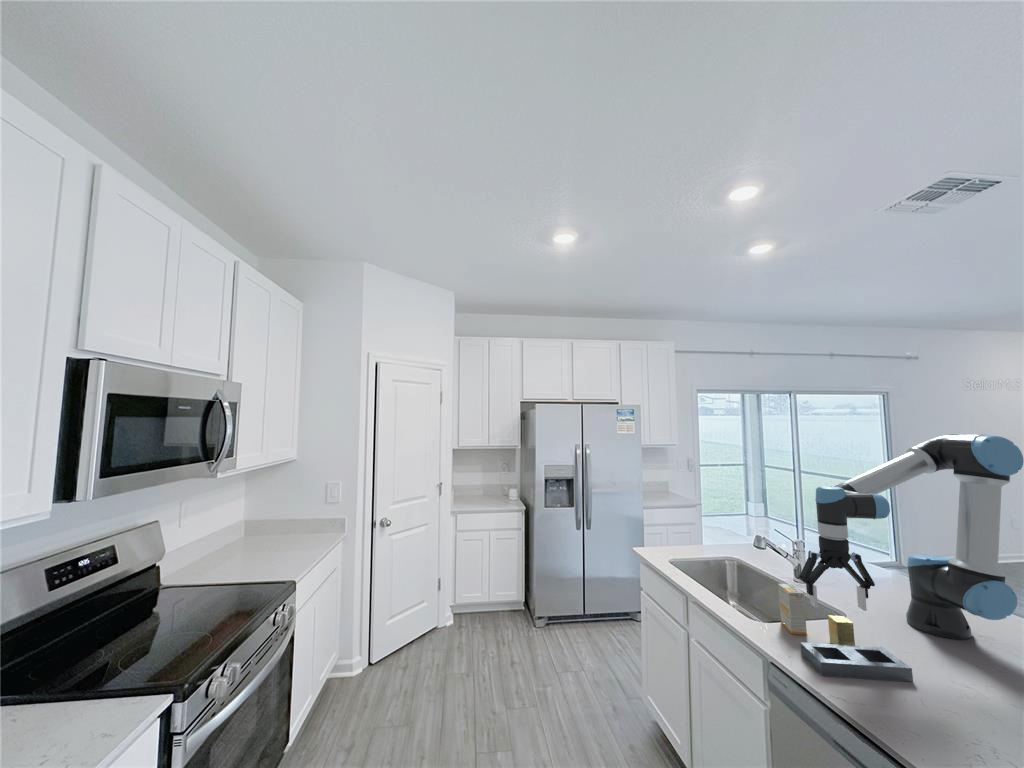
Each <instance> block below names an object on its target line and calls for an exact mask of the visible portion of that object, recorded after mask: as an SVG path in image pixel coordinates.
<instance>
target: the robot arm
mask: <svg viewBox="0 0 1024 768" xmlns="http://www.w3.org/2000/svg"><path fill="white" fill-rule="evenodd" d="M1020 449H1021V448H1019V446H1017V445H1015V443H1014V442H1013V441H1011V440H1010V439H1008V438H1006V437H1003V436H999V435H991V434H956V433H954V434H953V433H951V434H950V433H949V434H943V435H940V436H936V437H933V438H931V439H928V440H926V441H923V442H920V443H918V444H916V445H914V446H912V447H909V448H908V449H907V450H906V452H905V453H904V454H902V455H900V456H898V457H895V458H893V459H891V460H890V461H887V462H884V463H883V464H880V465H878V466H876V467H873V468H872V469H869V470H868V471H866V472H862V473H861V474H859V475H857V476H856V475H855V476H854V477H851V478H850V479H847V480H846V481H844V482H840V483H838V484H837V485H834V486H832V485H821V486H817V488H815V504H816V505H815V506H816V518H817V533H818V535H819V536H818V547H819V550H818V551H819V552H815V551H812V550H809V551H808V556H807V559H806V561H805V563H804V565H803V568H802V569H801V571H800V575H799V576H798V580H800V581H801V582H802V583H804V584H805V586H806V589H805V590H806V594H807V595H809V603H810V605H811V606H813V608H818V607H819V604H818V591H817V590H818V589H817V585H816V584H815V583H816V582H817V580H819V578H820V577H821V576H822V575H823V574H824V572H826V571H827V570H829V569H830V568H831V569H841V570H842V569H844V570H846V572H847V573H848V574H849V575H850V576H851V577H852V578H853V579H854V580H855V582H857V583H858V584H857V585H856V597H857V607H858V608H859V609H860V610H862V611H865V612H866V611H868V610H867V599H869V590H871V587H875V586H876V583H875V581H874V580H873V578H872V577H871V575H870V574H869V572H868V570H867V568H866V567H865V565H864V563H863V562H862V556H861V555H860V554H859V553H856V552H855V551H854V552H852V553H849V552H850V545H849V544H850V543H849V539H848V538H849V530H848V519H867V520H868V519H872V520H877V519H878V520H879V519H881V520H882V519H886V518H887V517H888V516H889V515H890V512H891V506H890V503H889V501H888V499H886V497H885V496H883V495H882V494H881V493H882V492H885V491H887V490H889V489H892V488H894V487H896V486H899V485H901V484H902V483H905V482H907V481H909V480H911V479H914V478H917V477H918V476H921V475H922V474H934V473H936V472H939V471H942V470H943V471H945V470H953V474H952V475H953V477H955V478H956V479H958V480H959V494H958V509H957V512H958V514H957V528H956V531H957V532H956V548H955V550H956V551H955V556H954V558H951V557H948V556H946V557H945V556H939V555H930V554H929V555H928V554H912V555H910V556H908V557H907V565H906V566H907V570H908V572H907V573H908V580H909V587H910V598H911V599H910V602H909V606H908V609H907V612H906V613H905V616H906V622H907V623H908V625H910V626H912V628H915V629H917V630H919V631H922V632H924V633H927V634H931V635H933V636H937V637H942V638H944V639H945V638H947V639H952V640H968V639H971V638H972V637H973V634H972V629H971V626H970V624H969V622H968V620H967V619H966V616H965V614H964V612H963V611H966V612H968V613H969V614H971V615H973V616H978V617H980V618H983V619H986V620H990V621H1000V620H1004V619H1006V618H1007V617H1010V616H1011V615H1013V613H1015V611H1016V609H1017V606H1018V597H1017V596H1018V595H1017V593H1016V592H1014V590H1013V588H1012V587H1011V586H1010V585H1008V584H1007V583H1006V574H1005V573H1004V572H1003V571H1002V570H1001V569H1000V568H999V553H1000V551H999V550H1000V532H1001V531H1000V529H1001V528H1000V526H1001V510H1002V509H1001V508H1002V507H1001V505H1002V488H1003V486H1005V485H1007V484H1009V483H1010V482H1011V476H1013V475H1015V474H1017V473H1019V471H1021V470H1022V469H1023V466H1024V456H1023V453H1022V451H1021V450H1020ZM819 558H820V560H819ZM817 560H819V561H818V562H817ZM850 560H851V561H852V562H853V564H854V566H855V567H856V568H857V570H858V572H859V573H858V572H857V571H856V570H855V569H854V568H853V567H852V565H851V564H850V563H849V561H850ZM816 564H817V565H816ZM860 575H861V576H860Z"/></svg>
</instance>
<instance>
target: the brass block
mask: <svg viewBox="0 0 1024 768" xmlns="http://www.w3.org/2000/svg"><path fill="white" fill-rule="evenodd" d="M827 618H828V619H827V621H828V633H829V642H830V644H836V645H853V646H856V641H855V640H856V638H855V630H854V622H853V621H851V620H850V619H849V618H847V617H845V616H844V615H829V614H828V615H827Z"/></svg>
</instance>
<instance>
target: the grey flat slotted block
mask: <svg viewBox="0 0 1024 768" xmlns="http://www.w3.org/2000/svg"><path fill="white" fill-rule="evenodd" d="M799 645H800V655H801V656H802V658H804V659H805V661H807V662H808V664H810V665H811V667H812V668H813V669H815V670H816V672H818V674H819V675H820V676H821V677H833V678H846V679H847V678H848V679H860V680H877V681H888V682H889V681H892V682H903V683H905V682H906V683H914V677H913V676H914V675H913V668H912V667H911V666H909V664H907V663H905V662H904V661H902V660H901V659H900V658H898V657H897V656H896V655H894V654H893V653H892V652H890V651H889V650H887V649H886V648H884V647H883V646H866V645H865V646H864V645H855V646H853V645H836V644H832V643H819V642H818V643H814V642H802V641H801V642H800V643H799Z"/></svg>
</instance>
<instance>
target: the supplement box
mask: <svg viewBox="0 0 1024 768" xmlns="http://www.w3.org/2000/svg"><path fill="white" fill-rule="evenodd" d="M777 586H778V597H779V598H778V599H779V609H780V610H779V611H780V623H781V624H782V623H785V624H782V625H783V626H784V627H785V629H786V630H788V631H789V633H791V634H793V635H803V636H806V635H808V632H807V620H806V608H805V607H806V605H805V595H804V592H803V591H801V590H800V589H799V588H798V587H797V586H795V585H794V584H792V583H791V584H790V583H778V585H777Z"/></svg>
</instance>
